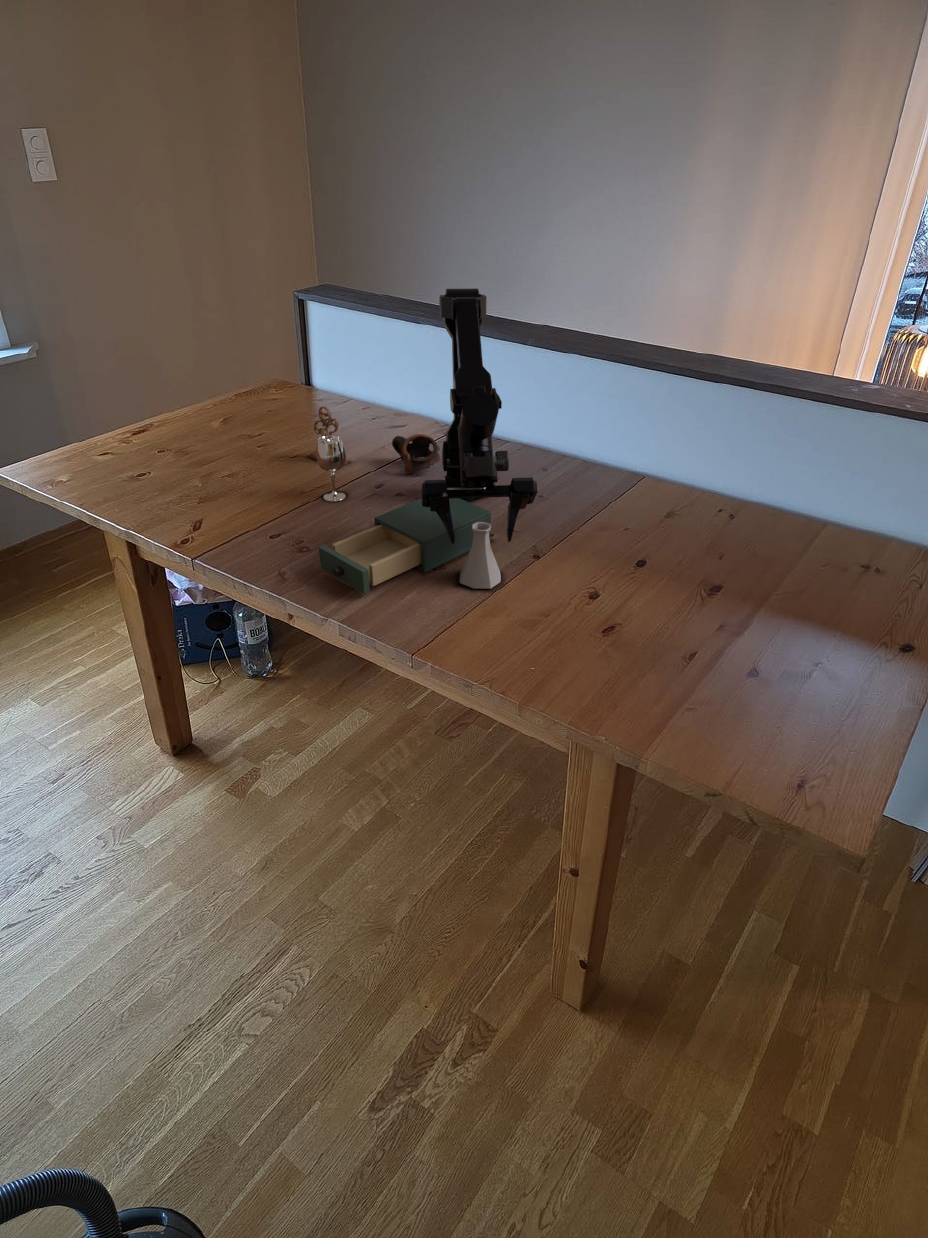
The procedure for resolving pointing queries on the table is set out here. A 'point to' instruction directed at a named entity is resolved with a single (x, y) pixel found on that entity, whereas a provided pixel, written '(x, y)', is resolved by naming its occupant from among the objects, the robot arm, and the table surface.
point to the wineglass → (331, 461)
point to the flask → (480, 560)
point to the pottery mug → (416, 451)
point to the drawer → (370, 557)
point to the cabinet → (436, 529)
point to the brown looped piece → (326, 424)
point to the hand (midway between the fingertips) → (481, 542)
